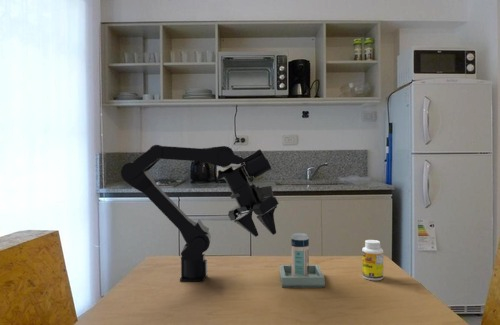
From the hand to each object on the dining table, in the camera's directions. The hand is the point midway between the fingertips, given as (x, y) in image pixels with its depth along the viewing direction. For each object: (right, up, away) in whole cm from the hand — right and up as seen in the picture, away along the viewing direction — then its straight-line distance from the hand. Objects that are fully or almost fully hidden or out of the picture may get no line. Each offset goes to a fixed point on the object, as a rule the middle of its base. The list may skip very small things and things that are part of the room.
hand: (265, 235), depth 105 cm
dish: (+10, -12, -4) cm, 16 cm away
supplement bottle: (+30, -12, -3) cm, 32 cm away
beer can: (+9, -11, -4) cm, 15 cm away
